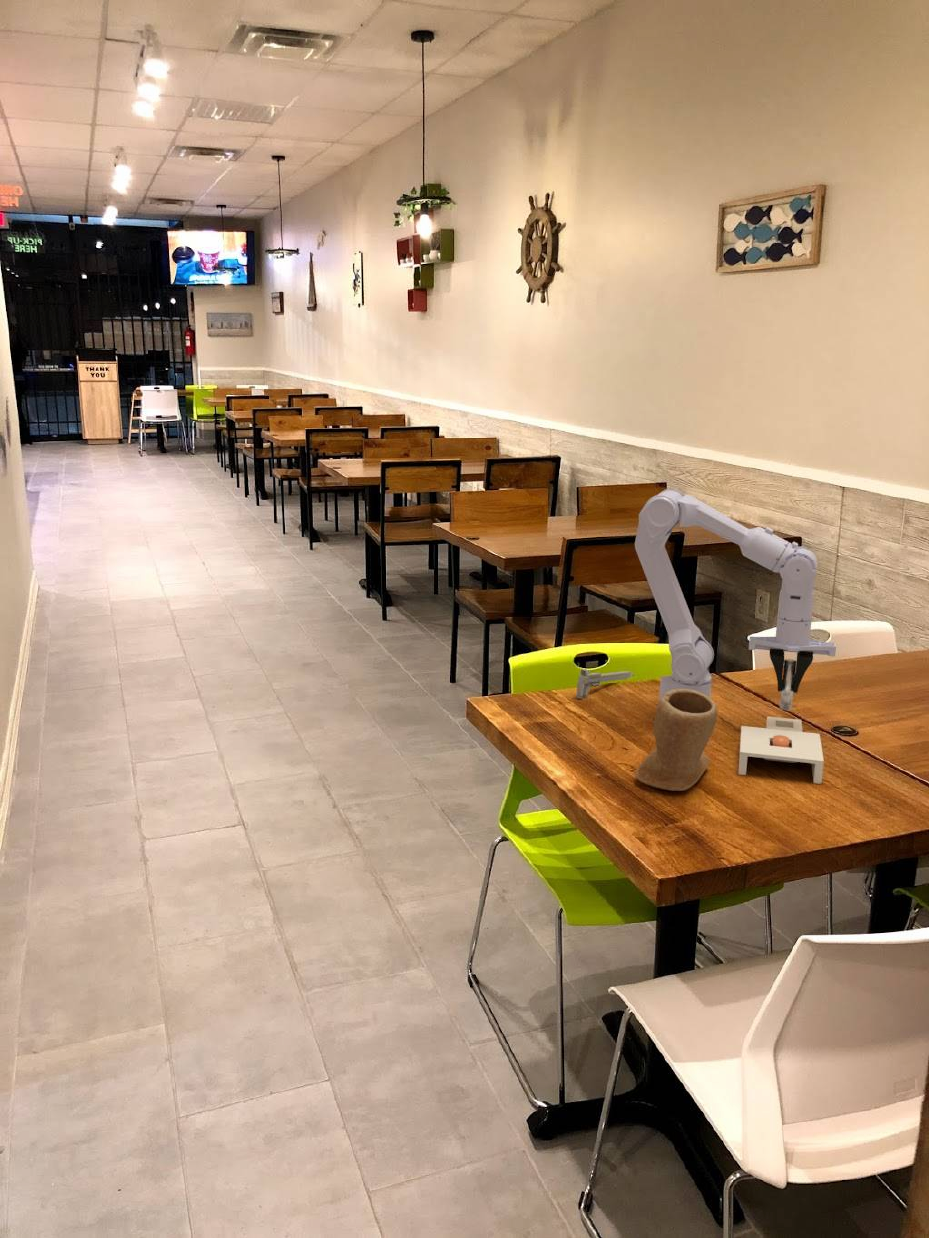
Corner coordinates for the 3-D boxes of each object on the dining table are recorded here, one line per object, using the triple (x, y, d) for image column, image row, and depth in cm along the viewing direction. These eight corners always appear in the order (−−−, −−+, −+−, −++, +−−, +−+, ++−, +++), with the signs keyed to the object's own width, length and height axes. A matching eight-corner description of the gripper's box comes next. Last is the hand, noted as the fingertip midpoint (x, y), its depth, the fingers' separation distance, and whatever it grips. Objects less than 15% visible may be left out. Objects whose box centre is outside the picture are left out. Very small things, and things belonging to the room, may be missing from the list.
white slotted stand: (738, 774, 160) (740, 751, 159) (739, 746, 171) (741, 725, 170) (821, 783, 156) (823, 761, 155) (817, 755, 167) (819, 733, 166)
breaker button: (764, 759, 162) (766, 742, 161) (764, 748, 166) (766, 731, 165) (794, 763, 160) (796, 745, 159) (794, 751, 165) (795, 734, 164)
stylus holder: (766, 741, 173) (767, 728, 173) (765, 729, 179) (767, 716, 178) (801, 744, 172) (802, 731, 171) (800, 732, 177) (801, 719, 177)
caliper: (580, 701, 194) (582, 672, 192) (576, 700, 195) (577, 671, 193) (633, 676, 209) (635, 649, 207) (629, 675, 209) (630, 648, 208)
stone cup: (698, 803, 150) (704, 713, 145) (626, 786, 156) (630, 699, 152) (727, 769, 162) (734, 685, 158) (660, 754, 168) (664, 672, 164)
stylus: (779, 709, 173) (784, 662, 171) (779, 705, 175) (784, 658, 173) (791, 710, 173) (796, 663, 170) (791, 706, 174) (796, 659, 172)
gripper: (751, 620, 168) (745, 693, 171) (840, 626, 164) (831, 701, 167) (751, 609, 174) (745, 680, 178) (837, 616, 170) (829, 688, 174)
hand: (787, 690), depth 173 cm, fingers closed on stylus, 2 cm apart
